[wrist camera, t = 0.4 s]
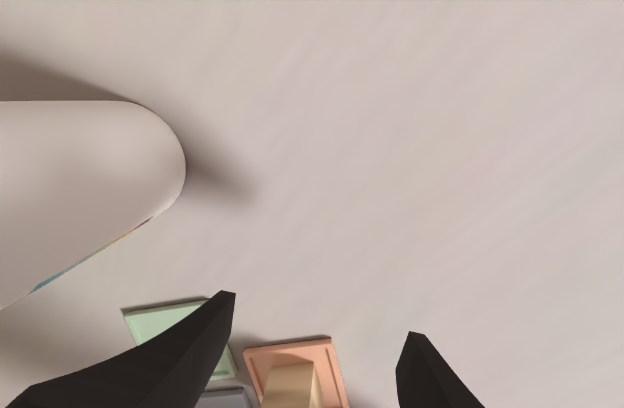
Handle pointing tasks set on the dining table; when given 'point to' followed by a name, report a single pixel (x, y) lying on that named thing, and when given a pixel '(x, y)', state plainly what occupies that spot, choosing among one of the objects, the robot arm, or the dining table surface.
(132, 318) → the tray sage
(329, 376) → the dish terracotta
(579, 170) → the dining table surface
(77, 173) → the milk bottle
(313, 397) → the wooden block
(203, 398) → the tray grey
